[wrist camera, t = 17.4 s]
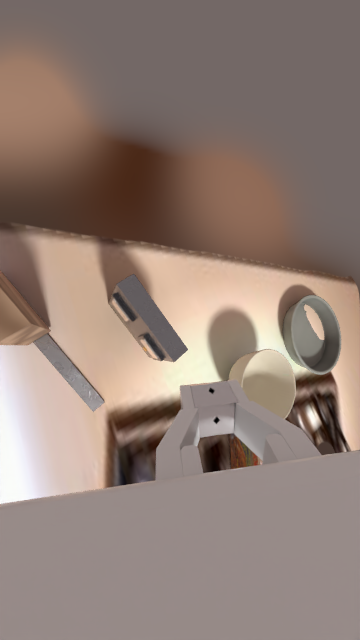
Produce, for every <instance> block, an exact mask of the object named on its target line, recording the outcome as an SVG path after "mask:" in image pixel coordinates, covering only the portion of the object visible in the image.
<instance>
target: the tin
mask: <svg viewBox="0 0 360 640" xmlns="http://www.w3.org/2000/svg"><path fill="white" fill-rule="evenodd" d="M230 450H231V469H236V468H243V467H249V466H256V465H262V462H263V461H262V460H261V459H260V458H259V457H258V456H257V455H256V454H255V453H254V452H252V451H251V450H250V449H249V448H248V447H247V446H246V445H245V444H244V443H243V442H242V441H241V440H240V439H239V438H238V437H237V436H236V435H235V434H234V433H230Z"/></svg>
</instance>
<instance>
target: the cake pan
mask: <svg viewBox="0 0 360 640" xmlns="http://www.w3.org/2000/svg"><path fill="white" fill-rule="evenodd" d="M305 304H306V305H308V306H310V307H311V308H312V309H314V310H315V312H316V313H317V314H318V316H319V318H320V320H321V322H322V325H323V329H324V336H325V340H320V339H319V338H318V336H317V334H316V333H315V332H314V330H313V328H312V326H311V324H310V322H309V321H308V319H307V316H306V311H304V305H305ZM283 339H284V343H285V347H286V349H287V351H288V353H289V355H290V357H291V358H292V359H293V361H295V362H296V363H297V364H298V365H300V366H302V367H305V368H307V369H308V370H309V371H311V372H313V373H315V374H325V373H328V372H329V371H331V370H332V369H333V368H334V366H335V365H336V363H337V361H338V359H339V355H340V350H341V333H340V327H339V323H338V320H337V318H336V315H335V313H334V311H333V310H332V308H331V307H330V305H329V304H328V303H327V302H326V301H325V300H324V299H322V298H321V297H319V296H316V295H308V296H305V297H303V298H302V299H301V300H300V301H299V302H298V303H296V304H294V305H293V306H291V307H290V308H289V310H288V311H287V313H286V315H285V318H284V322H283Z"/></svg>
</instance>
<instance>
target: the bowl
mask: <svg viewBox="0 0 360 640" xmlns="http://www.w3.org/2000/svg"><path fill="white" fill-rule="evenodd" d="M233 379H236V380H237V381H238V382H239V384H240V386H241V387H242V389H243V391H244V392H245V394H246V396H247V397H248V399H249V401H254V402H255V403H257V404H259V405H261V406H262V407H264V408H266V409H267V410H269V411H271V412H273V413H274V414H276V415H278V416H279V417H281V418H283V419H285V418H286V417H287V415H288V414H289V412H290V411H291V408H292V406H293V403H294V399H295V391H296V385H295V377H294V373H293V370H292V367H291V365H290V363H289V362H288V360H287V359H286V358H285V357H284V356H283V355H282V354H281V353H279V352H278V351H275V350H272V349H265V350H260V351H256V352H253V353H249V354H247V355H244V356H243V357H241V358H240V359H238V360H237V361H236V362H235V364H234V365H233V367H232V368H231V371H230V374H229V379H228V380H233Z"/></svg>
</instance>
